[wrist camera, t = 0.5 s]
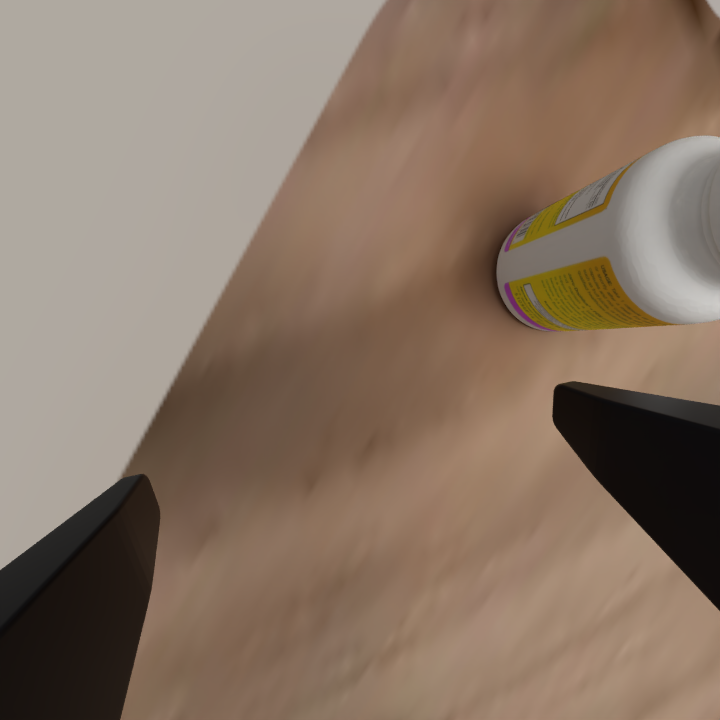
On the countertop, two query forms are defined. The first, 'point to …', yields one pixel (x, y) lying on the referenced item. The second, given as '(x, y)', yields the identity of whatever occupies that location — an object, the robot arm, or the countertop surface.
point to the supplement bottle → (623, 247)
